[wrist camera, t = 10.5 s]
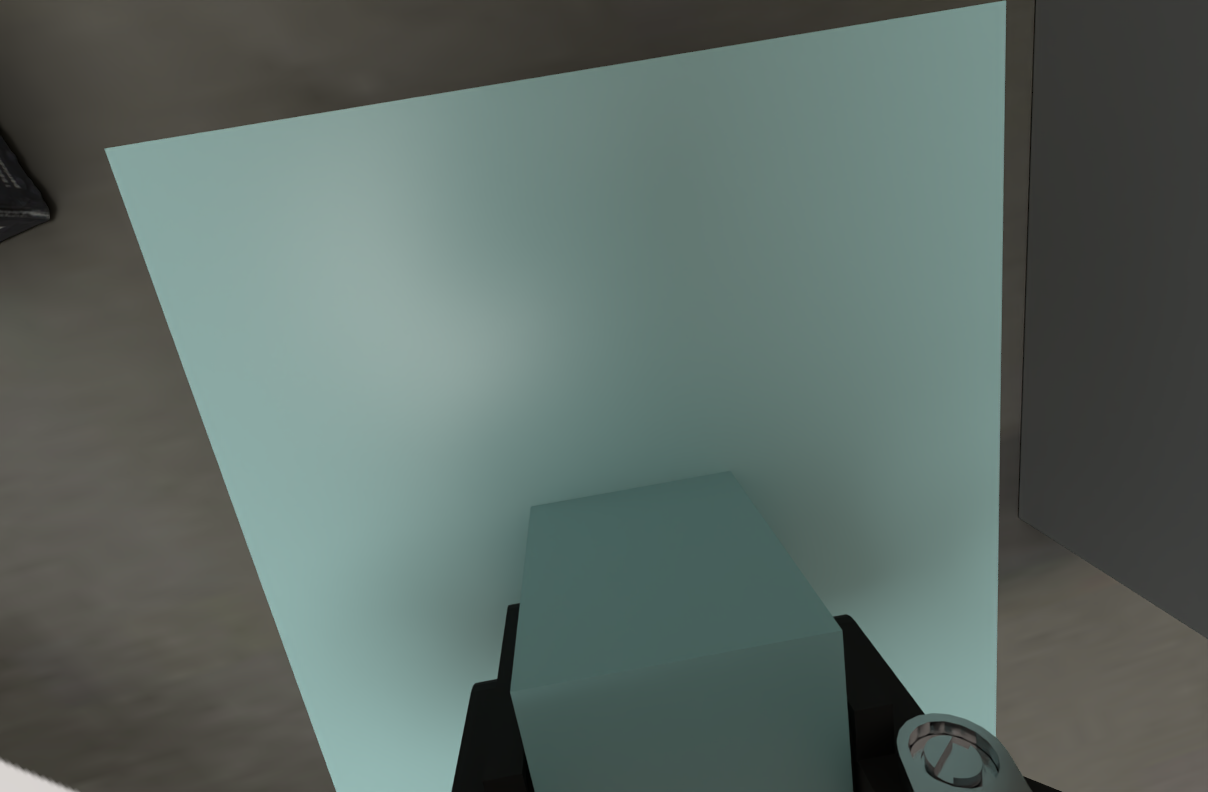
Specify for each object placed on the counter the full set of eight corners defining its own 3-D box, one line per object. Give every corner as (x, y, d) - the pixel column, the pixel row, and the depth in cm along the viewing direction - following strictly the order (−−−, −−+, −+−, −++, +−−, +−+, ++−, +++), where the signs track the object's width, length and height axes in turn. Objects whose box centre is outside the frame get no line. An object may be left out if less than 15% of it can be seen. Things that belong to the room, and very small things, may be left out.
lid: (152, 157, 11) (-334, 69, 5) (961, 23, 11) (1406, -207, 5) (429, 968, 17) (356, 1381, 11) (963, 864, 17) (1182, 1208, 11)
